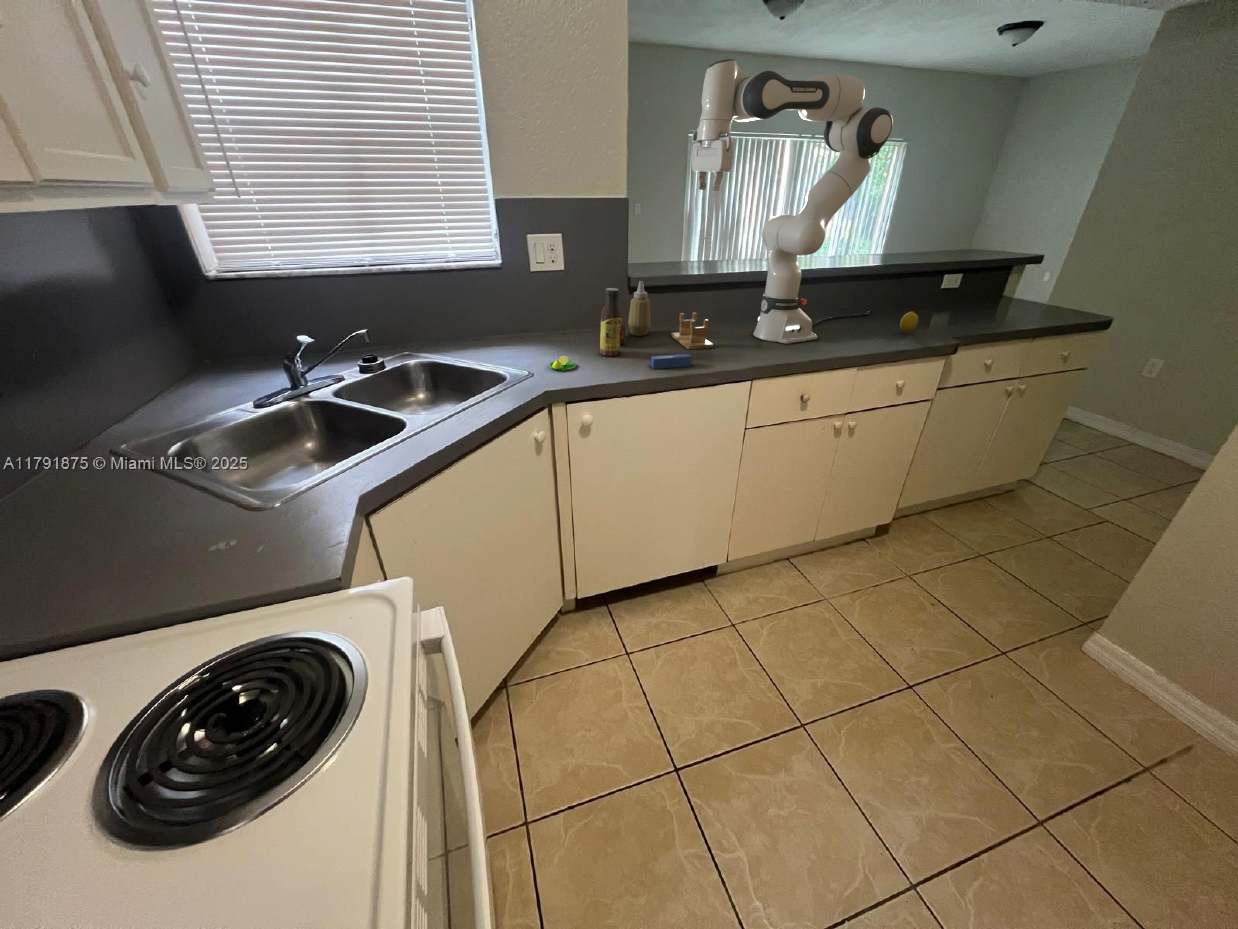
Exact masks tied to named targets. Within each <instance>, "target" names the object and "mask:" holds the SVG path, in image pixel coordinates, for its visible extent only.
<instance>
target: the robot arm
mask: <svg viewBox="0 0 1238 929" xmlns="http://www.w3.org/2000/svg"><path fill="white" fill-rule="evenodd" d="M865 93H866V89H865V84H864V83H863V81H862V79H860V78H858V77H857V76H856V77H855V76H852V75H849V74H843V73H842V74H841V73H825V74H824V73H823V74H819V75H814V76H810V77H808V78H807V79H806V80H793V79H787V78H785V77H783V76H782V75H780V74H779V73H778V72H775V71H773V70H765V71H762V72H760V73H758V74H756V75H753V76H750V75H748V74H747V73H746V72H745V71H744V70H742V68H741V67H740V66H739V65H738V62H737V61H736V59H733V58H727V59H721V60H718V61H715V62H713V63H711V64H709V66H708V67H707V69H706V71H705V74H704V80H703V85H702V94H701V114H700V117H699V125H698V127H697V129H696V130H695V131H694V132H693V133H692V138H691V139H692V140H691V141H692V143H693V145H692V153H691V154H692V155H691V169H692V172H694V173H697V181H698V190H699V191H706V189H707V182H706V176H707V173H714V174H713V176H714V179H713V183H711V191H713V192H719V191H720V187H721V183H722V181H723V177H724V173H730V172H731V169H732V166H733V157H734V142H733V140H732V136H731V133H732V124H733V121H736V122H739V123H740V122H741V123H742V122H749V121H750V122H751V121H756V120H767V119H771V118H772V117H774V116H776V115H777V114H779V113H780V112H782V111H798V114H799V116H800V118H801V119H803V120H806V121H810V122H817V123H818V122H821V123H822V122H825V127H824V129H823V130H824V131H823V141H824V142H823V143H824V145H825V146H826V148H827V149H828V150H830V151H831V152H835V153H839V156H838V158H837V160H836V161H835V162H834V164H833V165H832V166H831V167H830V168H829V169H828V170H827V171H826V172H825V173H824V174H823V176H821V177H820V178H819V180H818V181H817V182H816V183H815V184H814V185H813V186H812V187H811V188H810V189H809V191H807V193H806V196H805V204H804V206H803V207H802V209H801V210H800V211H799V212H798V213H797V214H795V215H792V214H778V215H776V216H772V217H770V218H769V219H768V220H766V221H765V224H764V225H763V227H762V231H761V239H762V241H763V243H764V246H765V248H766V250H765V251H766V258H767V275H766V283H765V289H764V293H763V294H762V299H761V303H760V314H759V316H758V318H757V324H756V327H755V329H754V331H753V333H752V335H753V336H754V337H755V338H757V339H760V340H764V341H767V342H777V343H781V344H794V343H801V342H807V341H813V340H814V341H815V340H817V339H818V335H817V334H816V333H814V331H813V327H814V326H815V325H818V324H819V323H821V322H824V321H828V320H834V319H835V320H836V319H843V318H854V317H855V318H856V317H864V316H868V315H869V314H870V313H871V309H870V310H869V309H868V310H869V311H867V312H865V313H858V314H857V313H856V314H847V315H846V314H845V315H838V316H829V317H825V318H821V319H819V320H817V321H815V322H814V323H813V321H812V319H811V318H810V317H809V316H808V315H807V314H806V312H804V311H803V310H802V309H801V305H802V306H805V305H806V304H807V299H806V298H803V297H802V298H800V297H799V296H798V295H799V290H800V285H801V281H802V276H803V275H802V270H801V268H800V266H799V261H798V256H809V255H812V254H815V253H817V252H818V251H819V250H820V249H821V248H822V246H823V245H824V242H825V239H826V228H827V227H828V224H829V223H830V222H831V220H832V219H833V217H834V216H835V214H837V212H838V211H839V210H840V209H841V208H842V207H843V206H844V205H845V204H846V203H847V201H848V200H849V199H850V198H851V197H852V196H853V195H854V194H855V193H856V192H857V190H858V189H859V188H860V187H861V185H862V184H863V183H864V181H865V179H866V178H867V176H868V175H869V173H870V171H871V164H872V163H871V160H870V159H872V158H874V157H875V156H877V155H878V154H879V152H880V151H881V149H882V148H883V146H884V145H885V144H886V142H887V141H888V139H889V138H890V136H891V133H892V130H893V127H894V118H893V115H892V113H891V111H890V110H888V109H886V108H883V107H864V105H863V102H864V99H865V95H866V94H865Z"/></svg>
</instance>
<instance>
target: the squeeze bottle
mask: <svg viewBox="0 0 1238 929" xmlns="http://www.w3.org/2000/svg"><path fill="white" fill-rule="evenodd" d="M651 322H652V321H651V302H650V300H649V299H648V292H647V291H645V287H644V281H643V280H639V282H638V286H637V290H636V291H634V292H633V298H632V299H630V306H629V313H628V321H627V324H628V327H629V331H630V334H631V335H633V336H639V337H642V336H646V335H647V334H648V333H649V330H650V328H651V325H652V323H651Z"/></svg>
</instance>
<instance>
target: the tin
mask: <svg viewBox="0 0 1238 929" xmlns="http://www.w3.org/2000/svg"><path fill="white" fill-rule="evenodd" d="M626 328H627V327H626V323H625V321H624V320H623V319H622V318H621V330H620V345H623V344H624V343H625V341H626Z"/></svg>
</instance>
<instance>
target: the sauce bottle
mask: <svg viewBox="0 0 1238 929" xmlns="http://www.w3.org/2000/svg"><path fill="white" fill-rule="evenodd" d="M619 295H620V289H619V288H616V287H607V288H605V305H604V306H603V308H602V311H601V319H600V334H599V335H600V338H599V352H600V355H602V356H605V357H615V356H619V353H620V349H621V348H620V347H621V344H620V330H621V319H622V315H621V309H620V307H619Z"/></svg>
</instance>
